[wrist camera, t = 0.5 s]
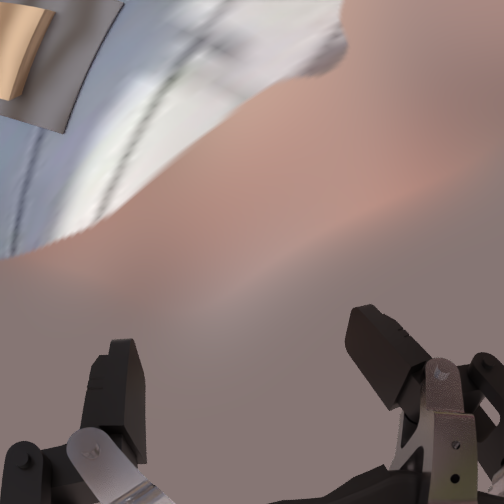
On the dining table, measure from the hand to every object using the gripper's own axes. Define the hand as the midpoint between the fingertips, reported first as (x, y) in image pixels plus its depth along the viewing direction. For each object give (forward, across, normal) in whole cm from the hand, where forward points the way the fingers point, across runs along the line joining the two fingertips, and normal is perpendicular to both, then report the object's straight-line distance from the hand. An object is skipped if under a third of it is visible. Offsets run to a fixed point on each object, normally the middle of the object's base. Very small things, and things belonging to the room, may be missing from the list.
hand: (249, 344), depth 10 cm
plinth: (+23, +22, -20) cm, 38 cm away
